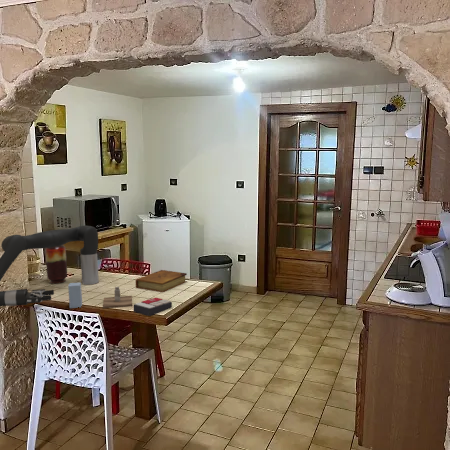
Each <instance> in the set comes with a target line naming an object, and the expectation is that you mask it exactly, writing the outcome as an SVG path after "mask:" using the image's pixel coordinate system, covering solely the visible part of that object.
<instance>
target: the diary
mask: <svg viewBox="0 0 450 450" xmlns="http://www.w3.org/2000/svg"><path fill="white" fill-rule="evenodd" d="M187 273H188V272H179V271H174V270H173V271H172V270H165V269H164V270H163V269H159V270H158V271H155V272H152V273H150V274H146V275H144V276H142V277H138V278H137V279H135V280H134V281H135V289H141V290H147V291H152V292H158V293H165V292H167V291H170V290H171V289H173V288H174V289H175V288H176V287H179V286H181V285H183V284H186V283H188V281H187V280H186V276H187V275H188V274H187Z"/></svg>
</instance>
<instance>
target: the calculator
mask: <svg viewBox="0 0 450 450" xmlns="http://www.w3.org/2000/svg"><path fill="white" fill-rule="evenodd" d="M171 307H173V303H172V301H171V300H167V299H163V298H160V297H154V298H153V297H152V298H149V299H146V300H142V301H141V302H137V303H134V304H133V313H137V314H141V315H145V316H148V317H151V316H155V315H156V314H158V313H160V312H161V313H162V312H164V311H166V310H170V309H172V308H171Z"/></svg>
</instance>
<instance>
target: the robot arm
mask: <svg viewBox="0 0 450 450" xmlns="http://www.w3.org/2000/svg"><path fill="white" fill-rule="evenodd" d="M70 242H83V247H82V248H80V250H79V252H80V253H79V254H80V268H81V284H82V285H94V284H95V285H96V284H99V281H100V280H99V264H98V263H99V262H98V261H99V260H98V249H99V233H98V229H97V228H96V227H94V226H91V225H80V226H77V227H72V228H66V229H65V228H62V229H59V228H58V229H51V230H45V231H39V232H36V233H32V234H27V235H20V234H12V235H8V236H6V237H5V238H3V240H2V242H1V249H2V250H3V251H4V252H3V253H2V255H1V256H0V282H1V281H2V279H3V277H4V276H5V274H6V273H7V272H8V270H9V269H10V267H11V266H12V265H13V263H14V262H15V261H16V259H17V258H18V257H19V256H20V255H21V253H23V251H27V250H40V249H46V248H52V247H58V246H61V245H63V246H65V244H67V243H70ZM54 294H55V291H54V289H51V290H46V289H44V288H43V289H42V288H41V289H32V290H31V292H29V291H28V289H26V288H23V289H22V288H21V289H19V288H18V289H10V290H9V289H8V290H1V291H0V307H15V306H17V307H18V306H27V305H28V304H40V303H41V302H43V301H51V300H52V296H53V295H54Z"/></svg>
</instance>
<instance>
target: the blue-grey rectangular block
mask: <svg viewBox="0 0 450 450" xmlns="http://www.w3.org/2000/svg"><path fill="white" fill-rule="evenodd" d="M67 291H68V300H69V301H68V303H69V309H77V308H78V307H79V308H82V307H83V293H82V282H70V283H68V290H67ZM81 306H82V307H81Z"/></svg>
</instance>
